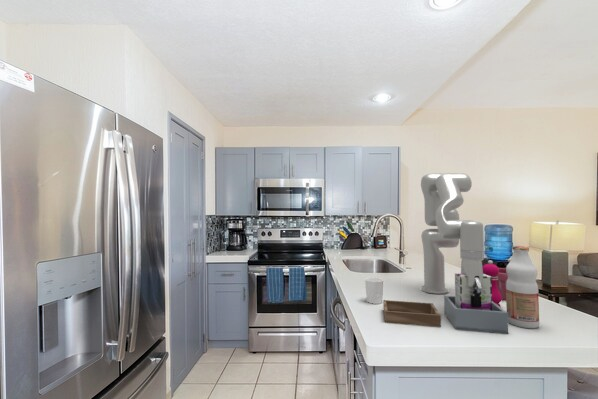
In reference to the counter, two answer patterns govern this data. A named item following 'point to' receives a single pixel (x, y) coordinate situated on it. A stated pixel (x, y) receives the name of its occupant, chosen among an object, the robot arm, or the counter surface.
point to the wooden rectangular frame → (411, 313)
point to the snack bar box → (465, 293)
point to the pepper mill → (493, 280)
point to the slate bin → (476, 318)
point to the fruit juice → (522, 290)
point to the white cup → (374, 290)
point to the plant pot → (502, 282)
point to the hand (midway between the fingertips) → (472, 303)
